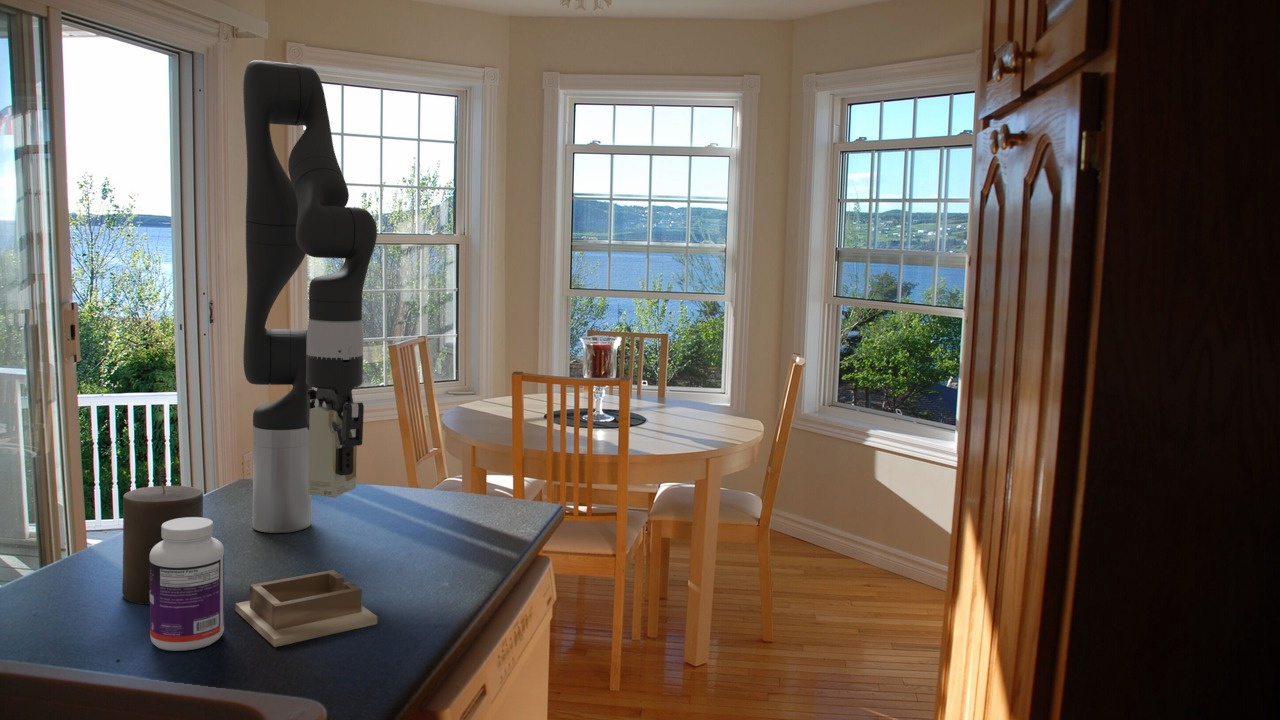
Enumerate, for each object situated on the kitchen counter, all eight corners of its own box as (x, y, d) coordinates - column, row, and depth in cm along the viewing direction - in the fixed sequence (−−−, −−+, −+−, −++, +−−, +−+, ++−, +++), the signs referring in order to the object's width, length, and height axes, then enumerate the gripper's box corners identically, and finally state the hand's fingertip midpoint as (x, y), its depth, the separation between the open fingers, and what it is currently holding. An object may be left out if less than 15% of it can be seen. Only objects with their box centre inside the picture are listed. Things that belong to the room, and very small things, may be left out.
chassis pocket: (235, 610, 126) (235, 580, 125) (332, 591, 134) (332, 563, 134) (274, 647, 115) (274, 614, 115) (377, 624, 123) (377, 593, 123)
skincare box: (335, 499, 133) (336, 411, 132) (306, 495, 134) (307, 408, 133) (357, 487, 140) (359, 404, 138) (330, 484, 140) (331, 401, 139)
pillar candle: (162, 609, 125) (162, 495, 123) (105, 596, 128) (105, 485, 127) (218, 587, 134) (220, 481, 132) (164, 576, 137) (165, 472, 136)
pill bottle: (166, 627, 119) (165, 513, 118) (233, 628, 120) (233, 514, 119) (138, 654, 111) (136, 532, 110) (210, 655, 112) (210, 533, 111)
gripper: (288, 346, 137) (287, 460, 139) (329, 359, 127) (328, 483, 129) (339, 344, 142) (337, 455, 144) (383, 357, 131) (381, 476, 134)
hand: (333, 468), depth 136 cm, fingers closed on skincare box, 7 cm apart
